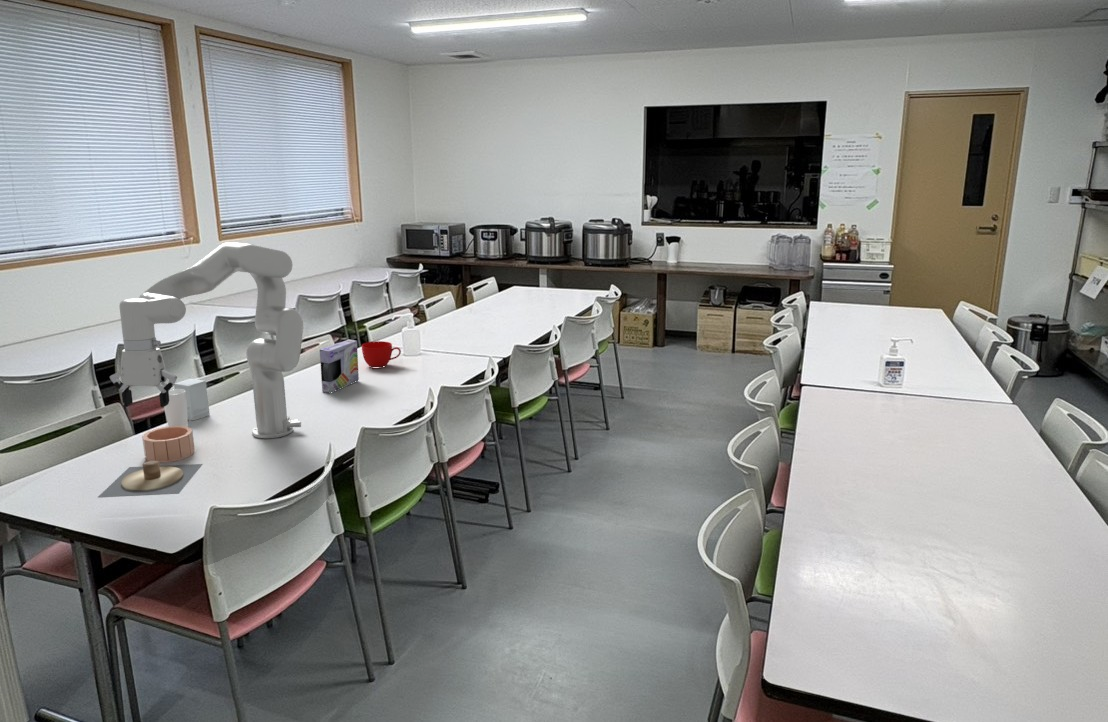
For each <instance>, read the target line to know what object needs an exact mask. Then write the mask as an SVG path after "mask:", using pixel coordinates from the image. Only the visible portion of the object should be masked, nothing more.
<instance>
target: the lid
mask: <svg viewBox="0 0 1108 722" xmlns="http://www.w3.org/2000/svg"><path fill="white" fill-rule="evenodd" d="M142 466H143V470H139V471H136V472H134V473H131V474H129V475H127V476H126V477H125V478H123V480H122V481H121V484H122V487H123V488H124V489H126V490H130V491H149V490H155V489H160V488H164V487H167V486H170V485H172V484H174V483H176V482H178V481H179V480H181V479H182V477H183V471H182V470H181V469H180V468H177V467H170V466H165V465H160V463H159V462H158V461H146V462H143V463H142ZM160 466H161V467H160Z"/></svg>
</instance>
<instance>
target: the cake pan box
mask: <svg viewBox="0 0 1108 722" xmlns="http://www.w3.org/2000/svg"><path fill="white" fill-rule="evenodd" d="M358 355H359V354H358V340H354V339H349V338H348V339H346V340H344V341H341V342H336V343H334V344H331V345H329V346H326V347H323V348H320V349H319V358H320V359H319V360H320V376H321V381H320V382H321V390H322V391H323V392H322V391H321V392H322V393H325V392H330V393H329V394H332V393H331V392H333V391H335V390H338V389H340V388H342V387H344V388H346V387H348V386H347V385H349V384H351V383H353V382H355V381H357V382H359V381H360V377H359V356H358ZM358 380H359V381H358ZM355 383H356V382H355ZM353 384H354V383H353ZM351 385H352V384H351ZM345 386H346V387H345ZM349 386H350V385H349ZM342 389H343V388H342ZM340 390H341V389H340ZM338 391H339V390H338ZM335 392H336V391H335ZM333 393H334V392H333Z"/></svg>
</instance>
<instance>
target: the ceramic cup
mask: <svg viewBox="0 0 1108 722" xmlns="http://www.w3.org/2000/svg"><path fill="white" fill-rule="evenodd" d="M394 350H398V354H397V355H396V356H394V357H393V356H392V353H393V352H394ZM401 352H402V350H401V348H400V347H397V346H396V347H393V343H391V342H389V341H383V340H382V341H380V340H379V341H378V340H377V341H375V340H374V341H368V342H364V343H363V344H361V353H362V356H363V359H364V361H365V363H366V365H368V367H370V366H371V367H383V366H385V367H386V366H387V365H388V364H389V362H390V361H391V360H395V359H397V358H399V357H400V355H401ZM371 367H370V368H371Z"/></svg>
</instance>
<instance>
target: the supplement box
mask: <svg viewBox="0 0 1108 722" xmlns="http://www.w3.org/2000/svg"><path fill="white" fill-rule="evenodd" d="M173 387H174V388H173V389H184V390H185V391H186V396H187V412H188V420H189V421H195V420H198V419H201V418H206V417H207V416H210V407H209V397H208V389H207V382H206V380H202V379H196V378H192V377H191V378H188V379H185V380H182V381H181V380H180V381H178V382H175V383H174V386H173Z"/></svg>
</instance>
